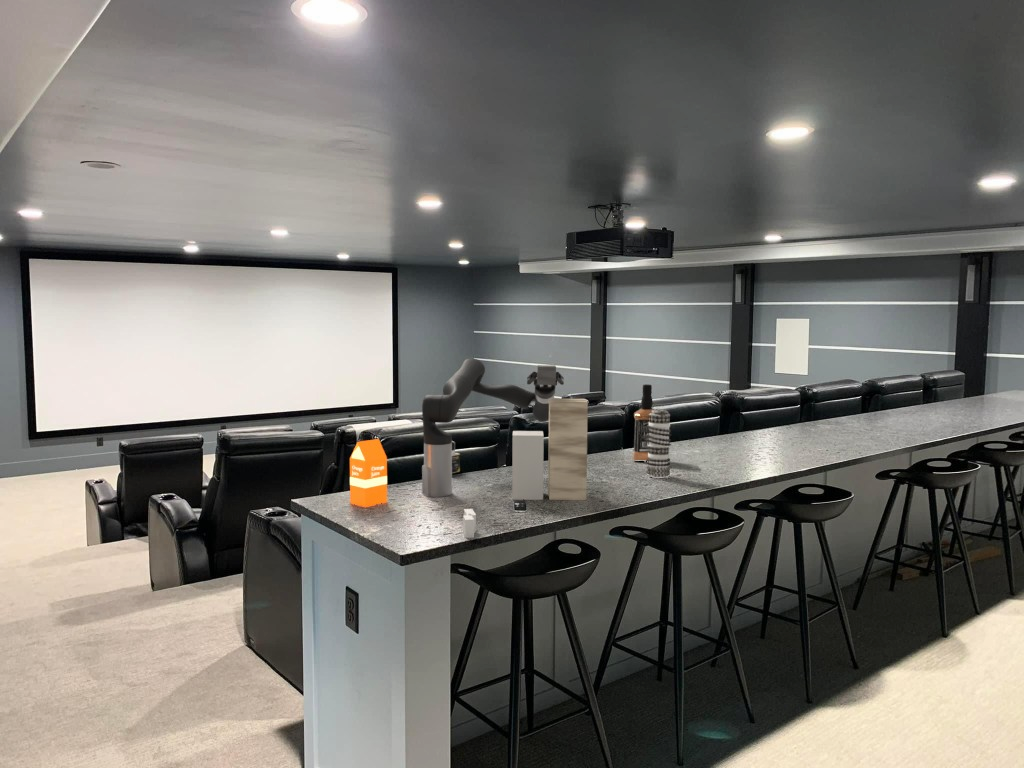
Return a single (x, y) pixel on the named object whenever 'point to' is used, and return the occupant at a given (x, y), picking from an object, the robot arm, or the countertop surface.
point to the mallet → (546, 375)
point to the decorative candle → (658, 443)
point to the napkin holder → (469, 523)
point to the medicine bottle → (455, 460)
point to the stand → (567, 449)
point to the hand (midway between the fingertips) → (546, 369)
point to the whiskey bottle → (642, 425)
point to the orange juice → (368, 474)
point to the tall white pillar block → (527, 465)
